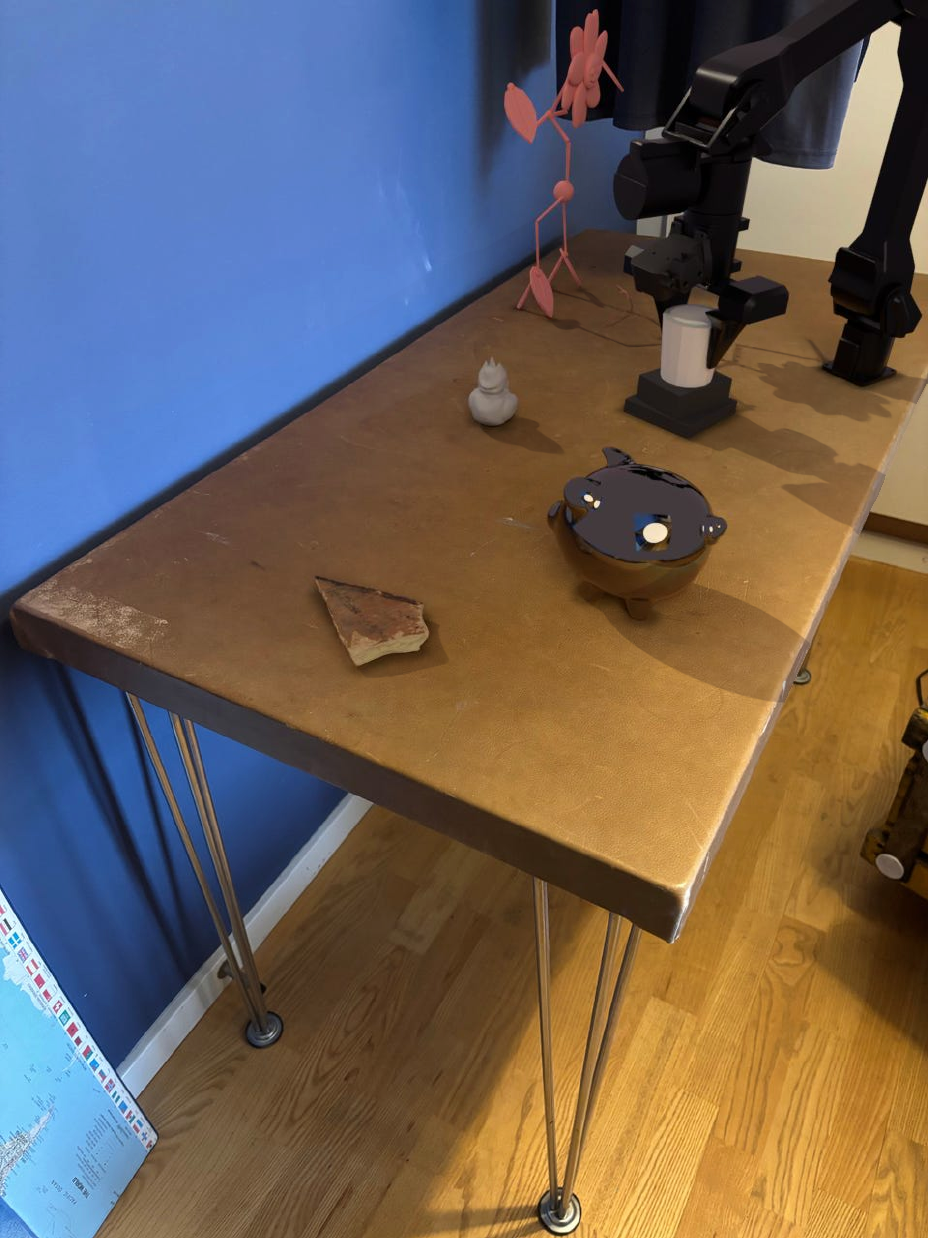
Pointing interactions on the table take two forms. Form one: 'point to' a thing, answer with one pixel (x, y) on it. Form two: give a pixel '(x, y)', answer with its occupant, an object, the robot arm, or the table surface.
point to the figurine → (522, 117)
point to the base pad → (683, 425)
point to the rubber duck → (492, 396)
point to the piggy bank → (634, 531)
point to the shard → (373, 620)
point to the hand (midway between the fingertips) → (689, 357)
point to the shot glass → (686, 345)
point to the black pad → (682, 394)
